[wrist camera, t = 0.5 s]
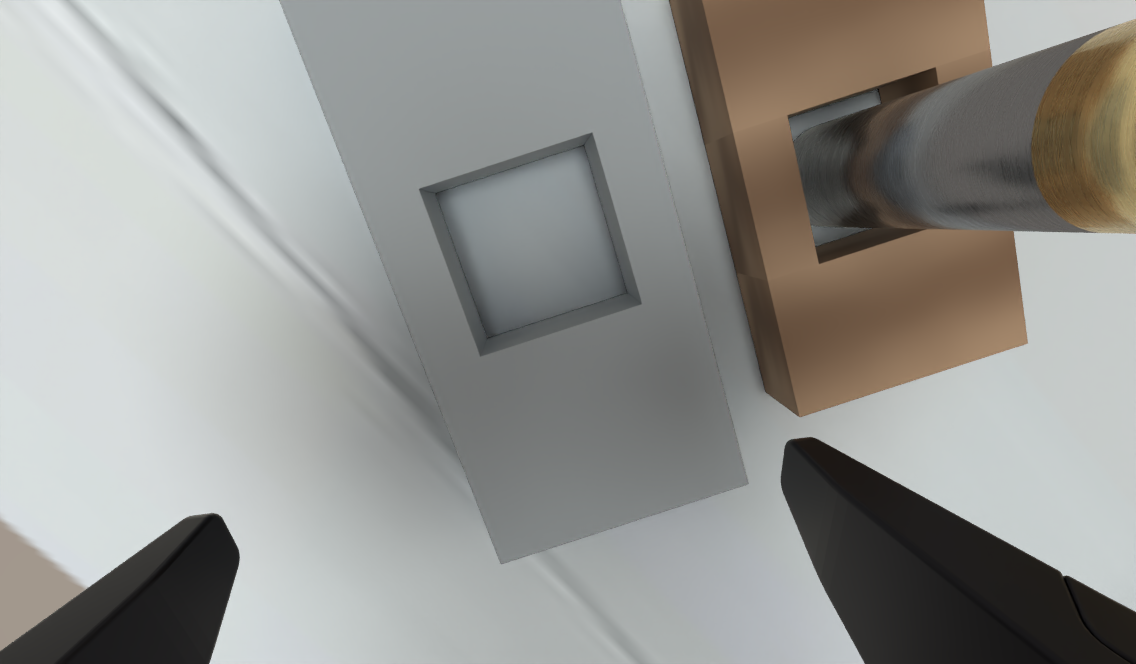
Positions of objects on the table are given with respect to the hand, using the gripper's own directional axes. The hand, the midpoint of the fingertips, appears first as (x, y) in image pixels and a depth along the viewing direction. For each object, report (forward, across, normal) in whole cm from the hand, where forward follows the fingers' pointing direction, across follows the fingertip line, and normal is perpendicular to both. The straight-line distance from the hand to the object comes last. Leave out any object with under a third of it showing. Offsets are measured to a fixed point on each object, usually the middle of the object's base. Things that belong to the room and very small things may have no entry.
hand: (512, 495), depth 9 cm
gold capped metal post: (+14, -13, -1) cm, 19 cm away
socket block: (+14, -13, -1) cm, 19 cm away
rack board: (+14, -1, 0) cm, 14 cm away
